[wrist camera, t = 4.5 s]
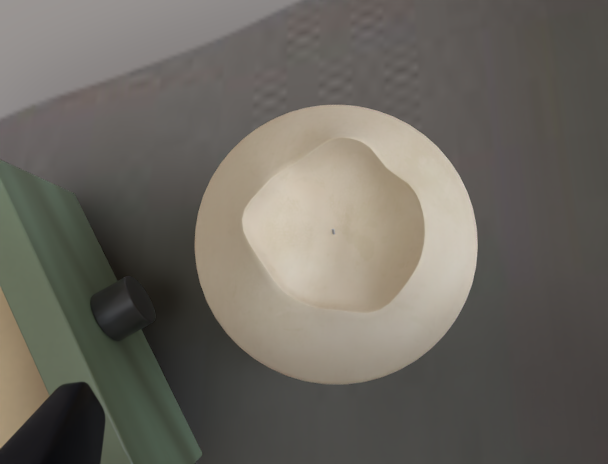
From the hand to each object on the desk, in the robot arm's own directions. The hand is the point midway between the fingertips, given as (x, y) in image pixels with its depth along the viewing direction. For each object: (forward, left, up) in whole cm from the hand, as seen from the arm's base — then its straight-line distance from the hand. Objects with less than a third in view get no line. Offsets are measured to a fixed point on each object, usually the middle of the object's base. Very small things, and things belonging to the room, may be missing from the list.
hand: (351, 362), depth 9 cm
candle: (+1, -2, -10) cm, 10 cm away
